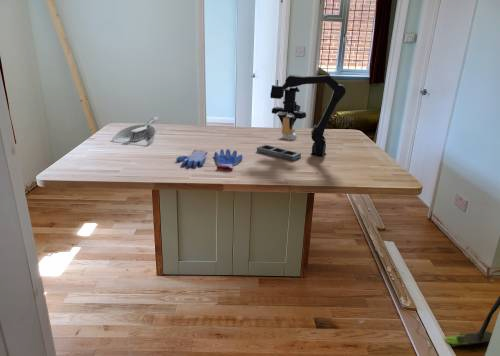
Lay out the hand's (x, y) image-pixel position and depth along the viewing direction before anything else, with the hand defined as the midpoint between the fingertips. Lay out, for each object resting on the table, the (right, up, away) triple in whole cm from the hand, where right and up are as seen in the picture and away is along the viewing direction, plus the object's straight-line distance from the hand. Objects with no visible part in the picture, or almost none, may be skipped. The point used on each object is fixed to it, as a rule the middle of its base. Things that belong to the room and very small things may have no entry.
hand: (287, 128), depth 212 cm
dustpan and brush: (-83, -3, +20) cm, 86 cm away
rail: (-5, -14, -1) cm, 15 cm away
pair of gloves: (-41, -19, -15) cm, 47 cm away
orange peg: (0, -3, +1) cm, 3 cm away
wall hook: (+4, -2, +32) cm, 32 cm away
